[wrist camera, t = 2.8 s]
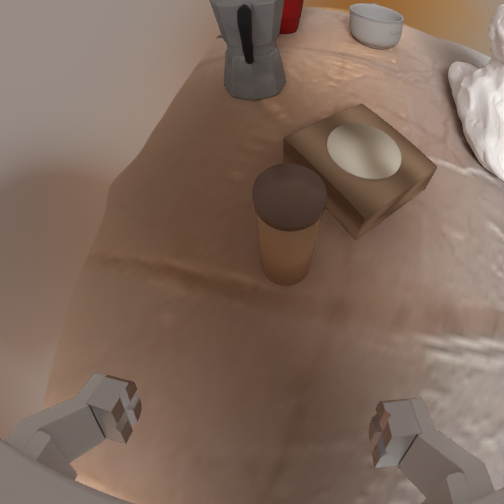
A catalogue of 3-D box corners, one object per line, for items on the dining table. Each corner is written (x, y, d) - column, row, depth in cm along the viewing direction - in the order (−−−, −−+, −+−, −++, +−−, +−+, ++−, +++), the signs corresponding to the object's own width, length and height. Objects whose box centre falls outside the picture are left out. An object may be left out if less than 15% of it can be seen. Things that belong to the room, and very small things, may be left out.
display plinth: (355, 240, 29) (365, 216, 25) (283, 163, 34) (283, 135, 30) (425, 188, 31) (438, 165, 27) (356, 126, 36) (362, 101, 32)
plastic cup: (259, 20, 54) (256, -25, 43) (308, 22, 53) (309, -23, 42) (252, 38, 50) (247, -14, 39) (307, 40, 48) (308, -13, 37)
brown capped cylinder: (279, 295, 27) (281, 236, 17) (251, 257, 29) (238, 184, 19) (320, 268, 28) (341, 199, 18) (291, 232, 30) (296, 153, 20)
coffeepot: (227, 66, 45) (213, -29, 29) (284, 63, 44) (281, -33, 28) (217, 121, 38) (193, -3, 22) (289, 118, 37) (289, -10, 21)
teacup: (395, 60, 45) (403, 25, 37) (341, 44, 47) (345, 9, 40) (399, 37, 50) (405, 9, 43) (353, 24, 52) (356, -5, 45)
